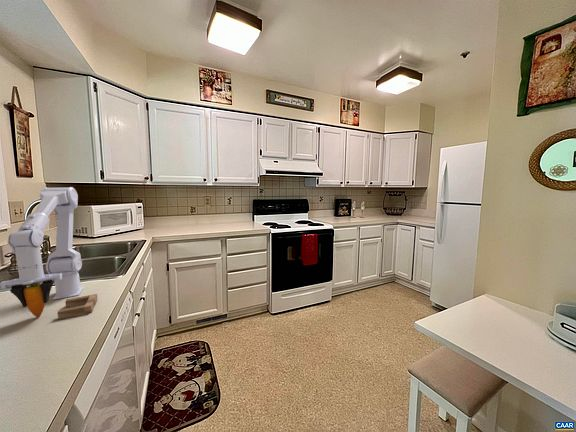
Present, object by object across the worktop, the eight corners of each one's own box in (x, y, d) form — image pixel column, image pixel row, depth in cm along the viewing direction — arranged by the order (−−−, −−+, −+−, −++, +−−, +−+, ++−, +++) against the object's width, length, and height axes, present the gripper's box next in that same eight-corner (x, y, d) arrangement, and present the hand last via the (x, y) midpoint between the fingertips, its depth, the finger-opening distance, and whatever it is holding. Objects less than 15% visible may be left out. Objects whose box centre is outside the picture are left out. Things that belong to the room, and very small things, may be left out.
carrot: (47, 311, 88) (41, 271, 86) (49, 316, 85) (43, 274, 83) (27, 317, 84) (20, 275, 82) (28, 322, 81) (21, 279, 79)
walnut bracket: (67, 305, 93) (66, 299, 92) (97, 299, 97) (96, 293, 97) (58, 319, 83) (57, 312, 83) (91, 312, 87) (91, 305, 87)
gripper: (-8, 273, 75) (-1, 314, 77) (55, 265, 82) (60, 303, 84) (3, 266, 81) (10, 305, 83) (61, 259, 88) (66, 295, 90)
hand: (36, 303), depth 84 cm, fingers closed on carrot, 4 cm apart
